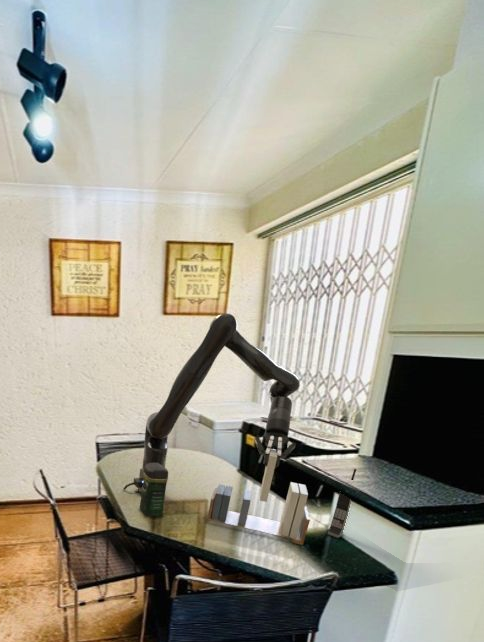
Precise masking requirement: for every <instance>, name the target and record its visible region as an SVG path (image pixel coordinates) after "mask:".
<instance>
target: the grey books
mask: <svg viewBox="0 0 484 642" xmlns="http://www.w3.org/2000/svg"><path fill="white" fill-rule="evenodd" d="M216 488H217V491H216V495H215V500H214V506H213V511H212V516H211V519H214V520H218V518H219V521H223V522H225V521H226V517H227V513H228V511H229V507H230V502H231V497H232V492H233V488H234V487H233V486H230V485H226V484H225V485H224V484H220V483H219V484H218V486H217V487H216ZM252 493H253V492H252V490H250V489H244V491H243V496H242V502H241V506H240V511H239V513H240V516H239V522H238V525H240V526H245V524H246V520H247V515H249V510H250V506H251V501H252ZM219 514H220V515H219Z"/></svg>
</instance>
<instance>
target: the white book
mask: <svg viewBox="0 0 484 642" xmlns="http://www.w3.org/2000/svg"><path fill="white" fill-rule="evenodd" d="M276 460H277V451H276V450H275V449H270V452H269V460H268V465H267V466H265V469H264V474H263V477H262V482H261V485H260V492H259V501H260V502H264V503H267V502H268V498H269V494H270V490H271V485H272V481H273V477H274V473H275V469H276V468H275V464H276Z"/></svg>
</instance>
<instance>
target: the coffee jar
mask: <svg viewBox="0 0 484 642" xmlns="http://www.w3.org/2000/svg"><path fill="white" fill-rule="evenodd" d="M168 479H169V470H168V469H167V468H166V466H165V467H163V466H162V465H160V464H159V463H148V464H147V465H145V468H144V479H143V487H142V493H140V494H141V495H140V501H139V510H140V512H141V513H142V514H143V516H145V517H148V518H149V517H150V518H159V517H162V516H163V515H164V507H165V500H166V499H165V498H166V491H167V490H166V489H167V484H168Z"/></svg>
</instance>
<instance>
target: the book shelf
mask: <svg viewBox="0 0 484 642" xmlns="http://www.w3.org/2000/svg"><path fill="white" fill-rule="evenodd" d="M217 488H218V487H214V490H213V492H212V495H211V498H210V502H209V508H208V513H207V519H206V520H208V521H213V522H216V523H217V522H218V523H221V524H226V525H230V526H234V527H238V528H244V529H248V530H251V531H257V532H262V533H265V534H270V535H274V536H278V537H282V538H287V539H292V544H296V545H300V546H304V543H305V540H306V535H307V532H308V528H309V525H310V522H311V518H310V514H309V510H308V507H307V505H305V508H304V512H303V516H302V519H301V523H300V527H299V531H298V534H297V538H293V537H289V535H288V536H284V535H281V524H280V522H281V521H278V520H273V519H269V518H264V517H259V516H255V515H250V514H248V515H247V520H246V524H245V526H240V525H238V522H239V516H240V512H236V511H232V510H228V513H227V517H226V521H225V522H223V521H219V518H218V520H214V519H211V516H212V511H213V506H214V500H215V495H216V491H217ZM219 515H220V514H219Z"/></svg>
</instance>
